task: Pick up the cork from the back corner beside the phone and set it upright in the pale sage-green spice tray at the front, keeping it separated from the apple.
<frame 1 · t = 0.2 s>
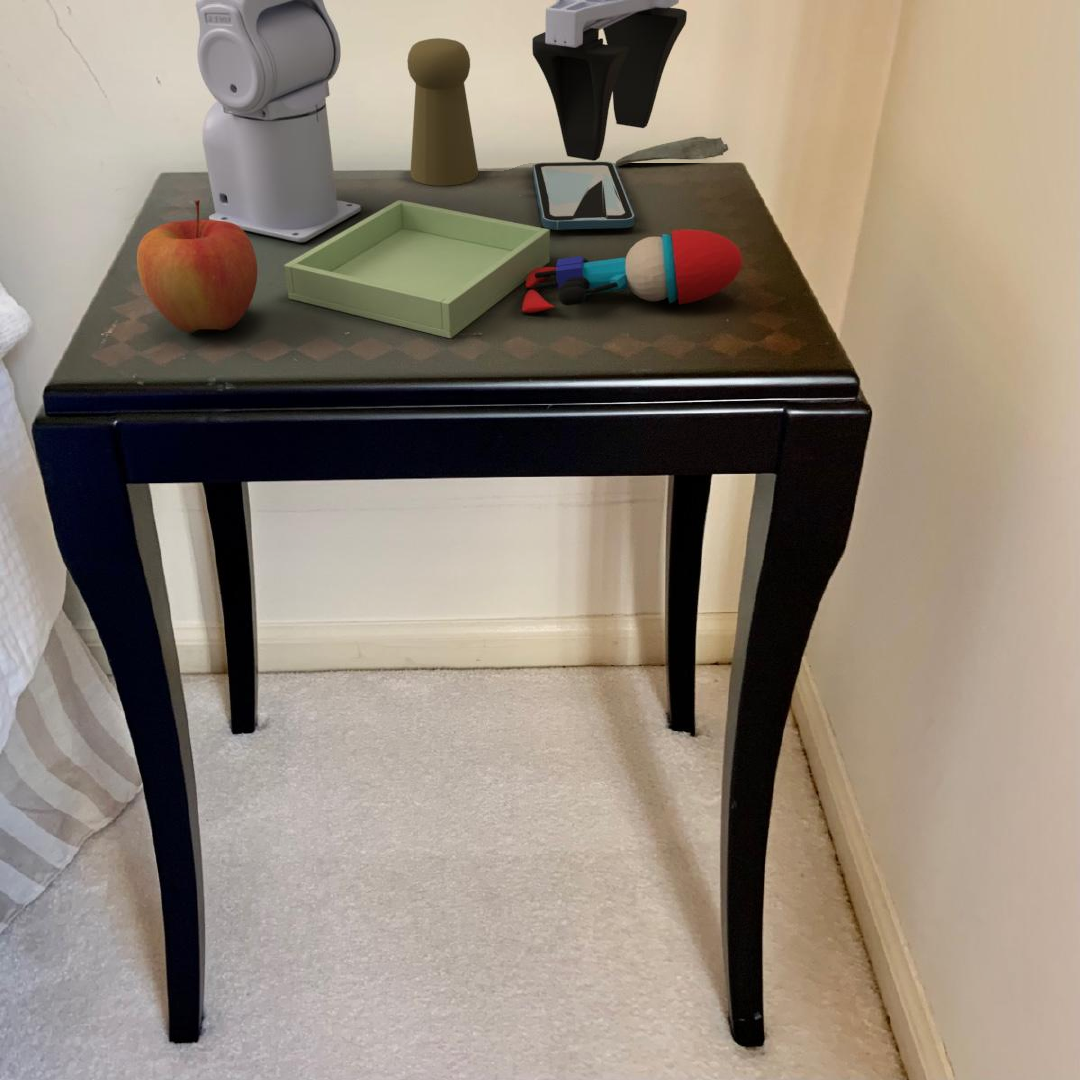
hand: (608, 140, 72), 10 cm above the table, tool pointing down, fingers open, 7 cm apart
spice tray: (423, 279, 79), on the table
toy figure: (630, 301, 76), on the table
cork: (444, 176, 97), on the table
stone: (681, 160, 98), point 1 cm above the table
apple: (210, 329, 73), on the table
smartphone: (580, 201, 91), on the table
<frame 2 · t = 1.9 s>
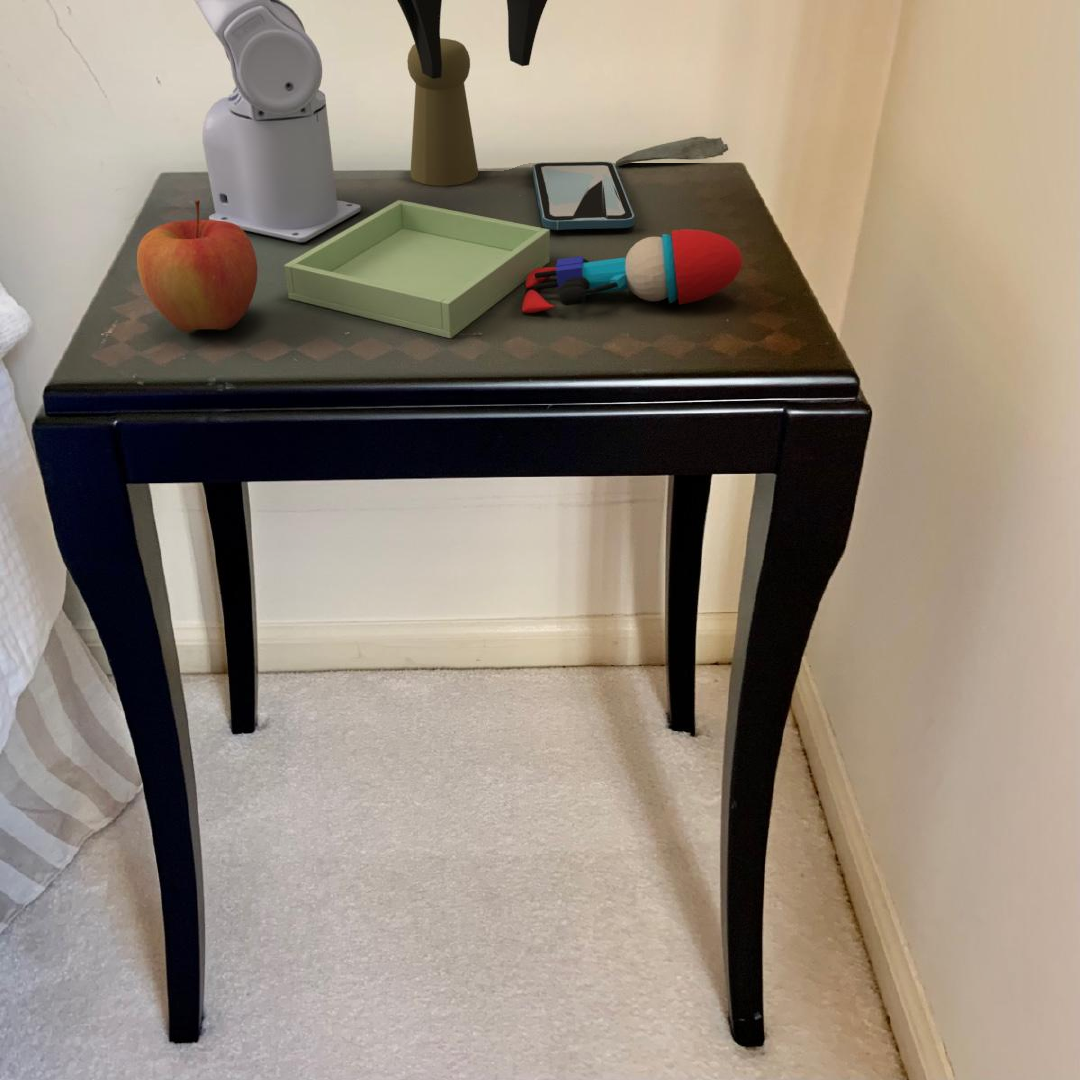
hand: (476, 69, 85), 10 cm above the table, tool pointing down, fingers open, 7 cm apart
nothing on the table moved.
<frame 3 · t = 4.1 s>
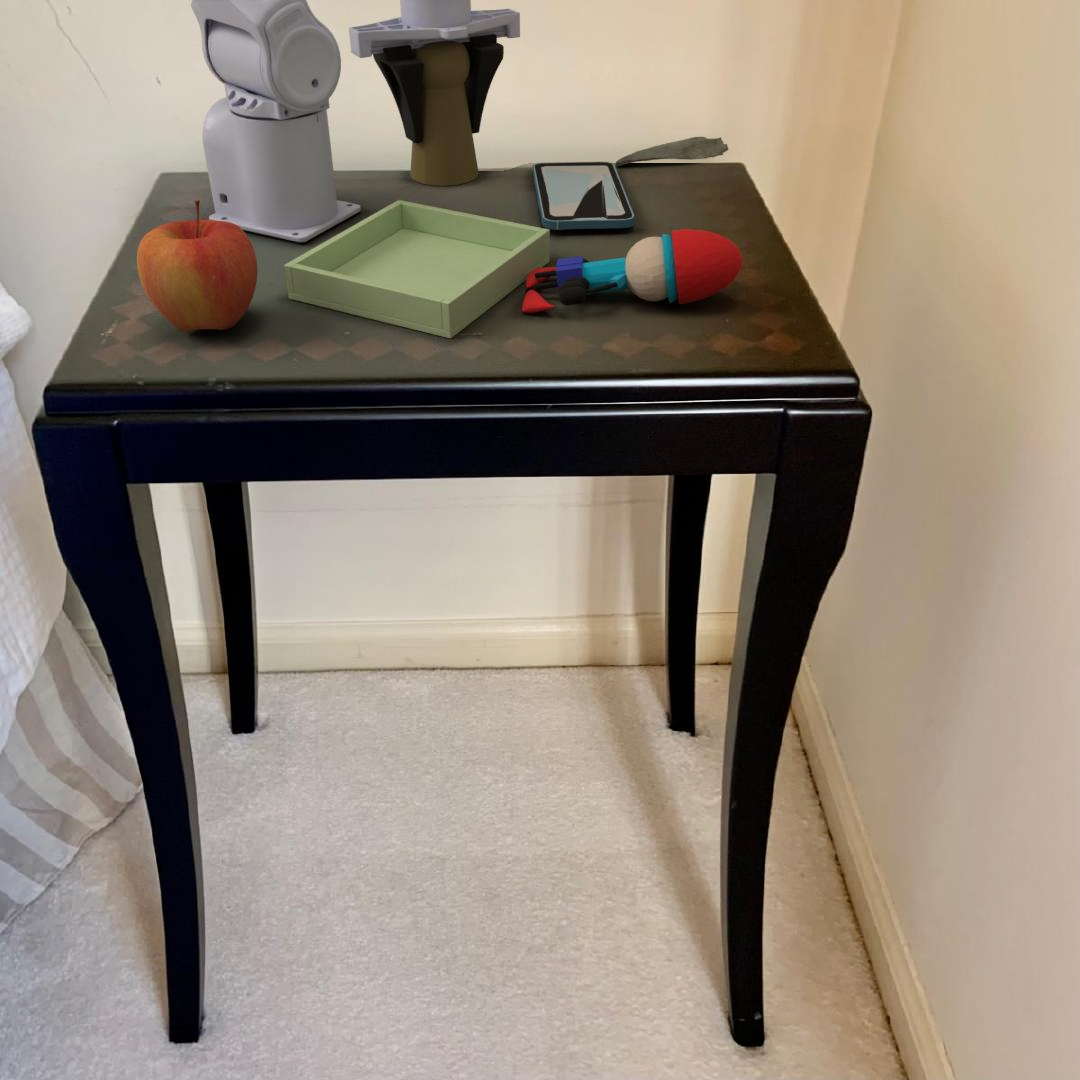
hand: (442, 135, 95), 3 cm above the table, tool pointing down, fingers closed on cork, 5 cm apart
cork: (444, 176, 97), on the table, touching gripper
everything else where it was.
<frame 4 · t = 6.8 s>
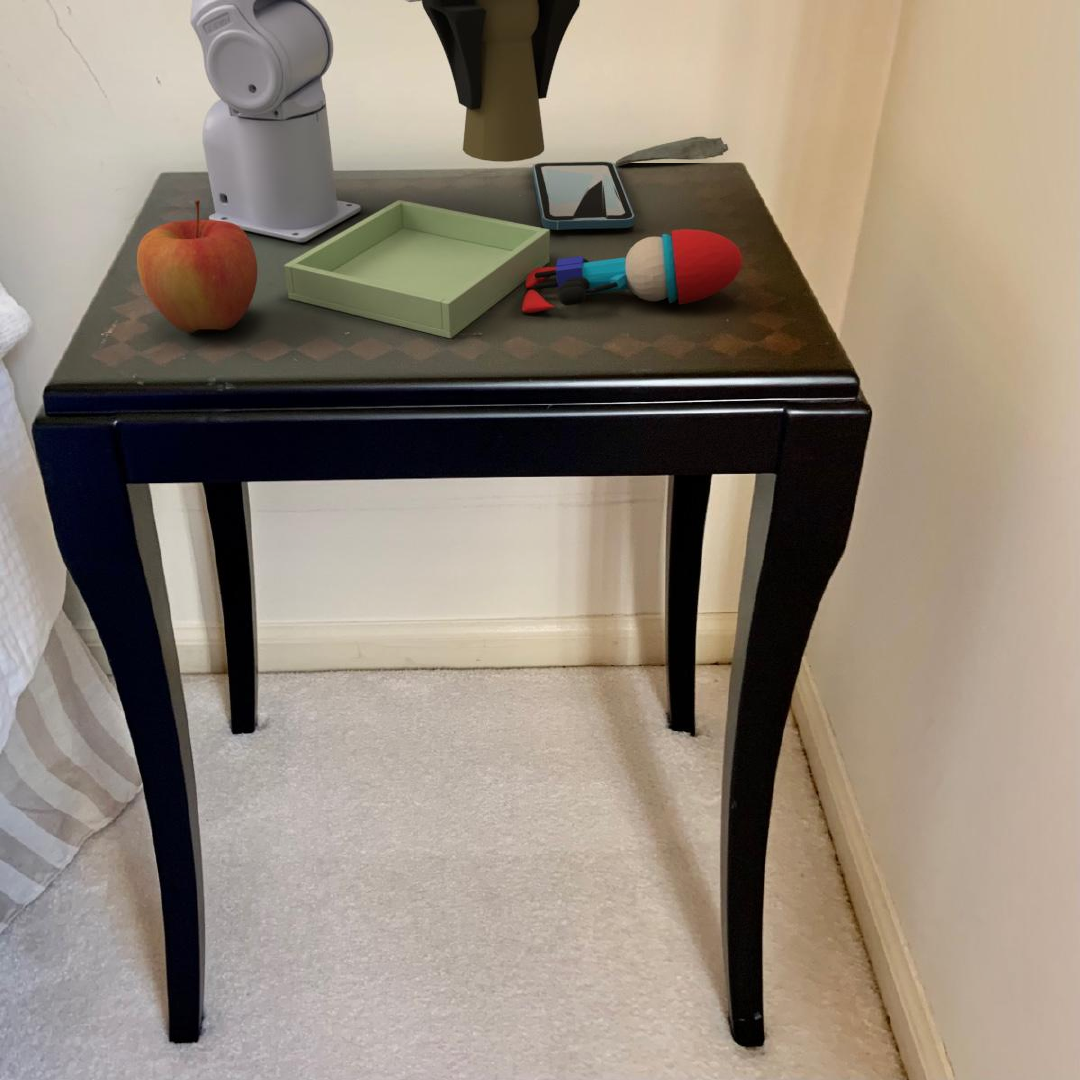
hand: (502, 100, 79), 10 cm above the table, tool pointing down, fingers closed on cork, 5 cm apart
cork: (503, 151, 81), point 7 cm above the table, touching gripper
everything else where it was.
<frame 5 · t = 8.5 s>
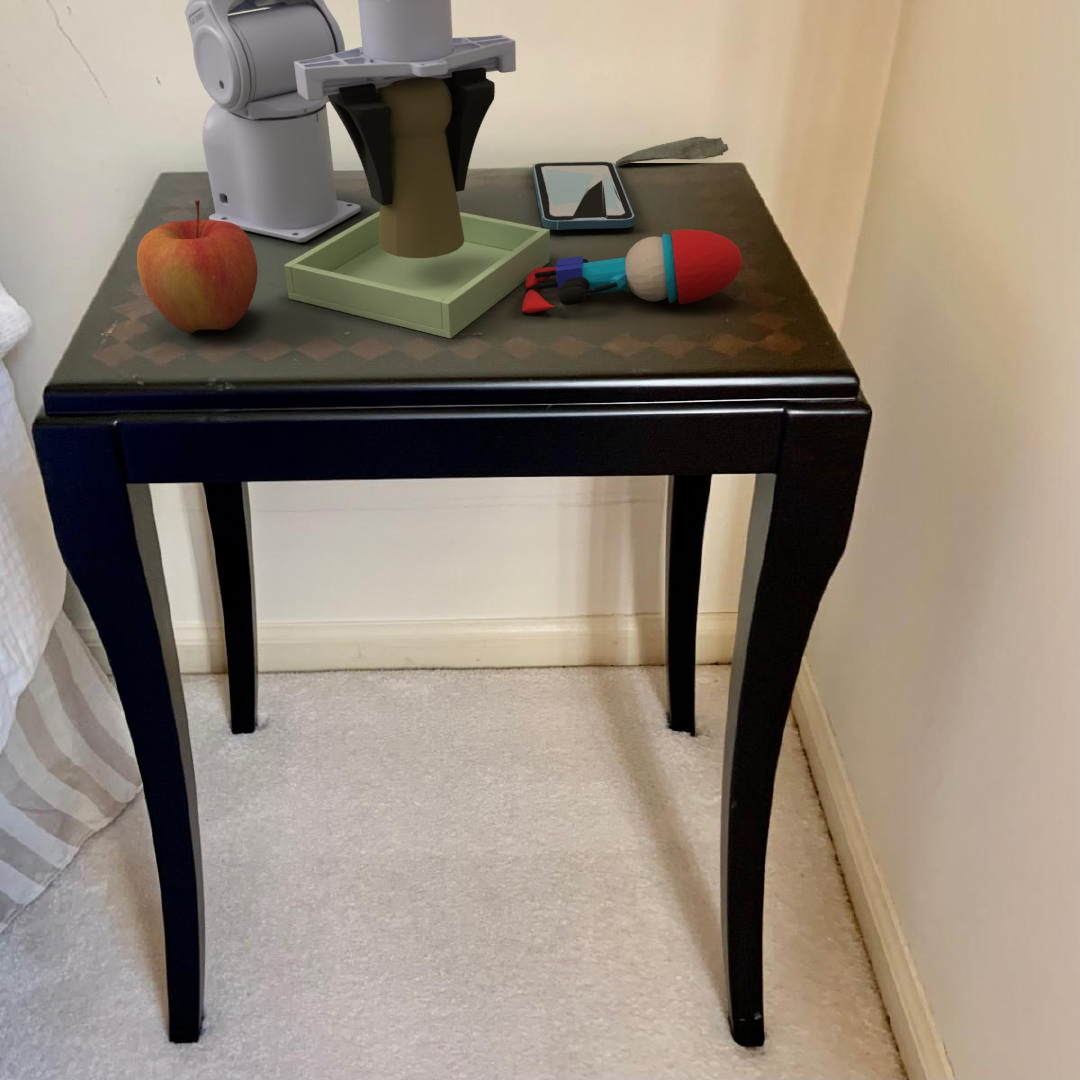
hand: (417, 193, 75), 6 cm above the table, tool pointing down, fingers closed on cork, 5 cm apart
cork: (421, 244, 77), point 3 cm above the table, touching gripper
everything else where it was.
when the fingers open (4 cm above the table, at t = 9.7 s): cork stays where it is, resting on spice tray.
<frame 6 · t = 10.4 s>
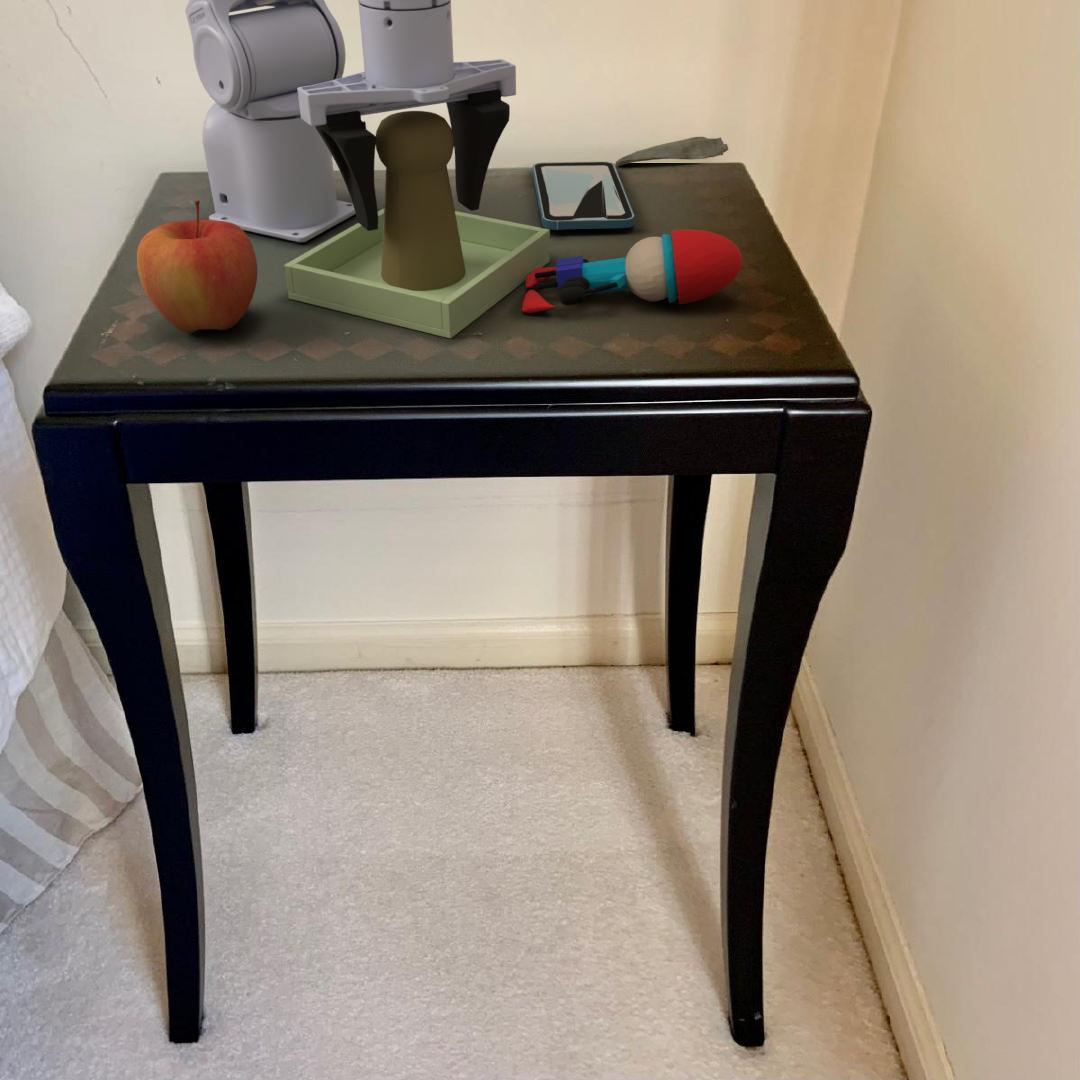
hand: (419, 215, 76), 5 cm above the table, tool pointing down, fingers open, 7 cm apart
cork: (423, 275, 79), resting on spice tray
everything else where it was.
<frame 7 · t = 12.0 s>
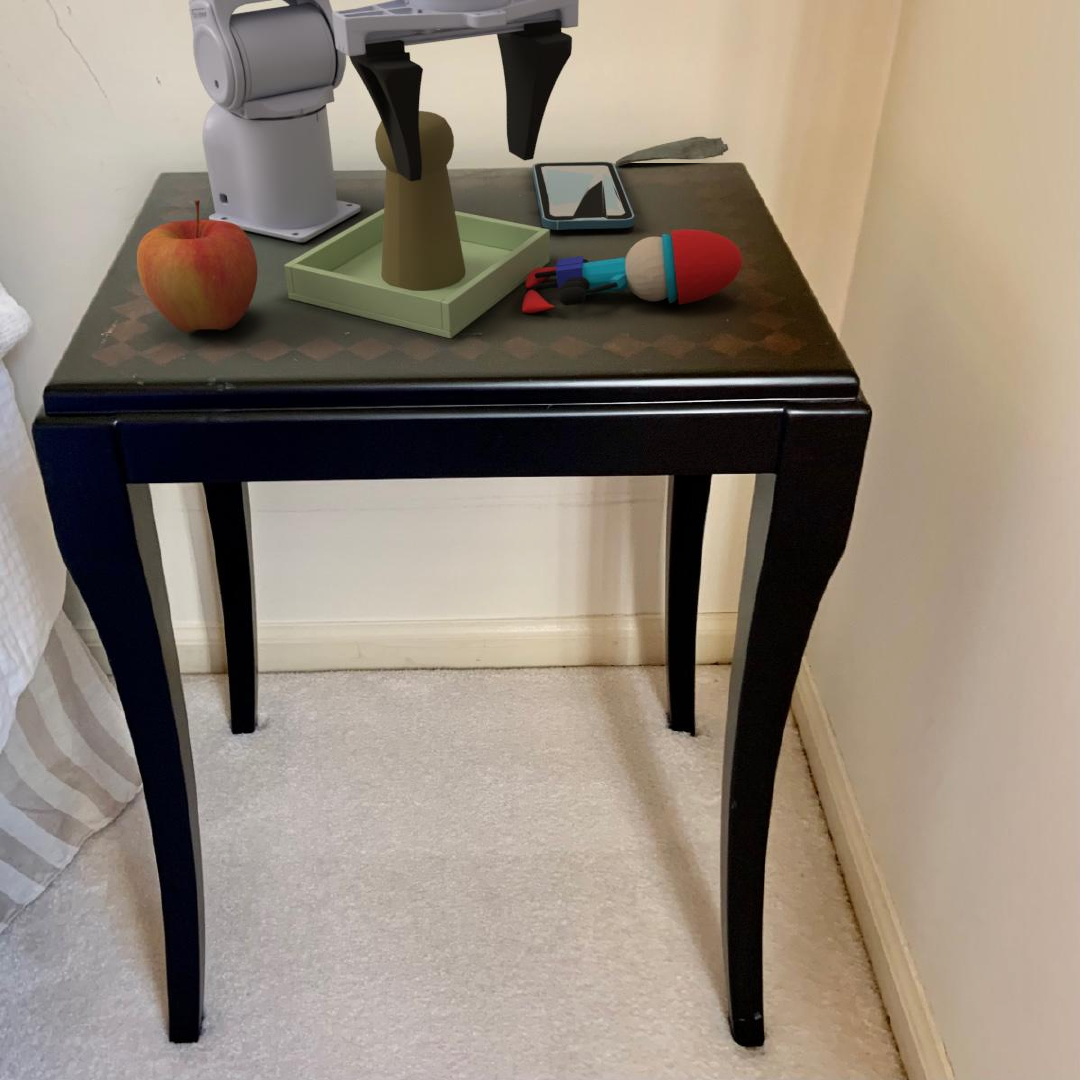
hand: (466, 165, 67), 10 cm above the table, tool pointing down, fingers open, 7 cm apart
nothing on the table moved.
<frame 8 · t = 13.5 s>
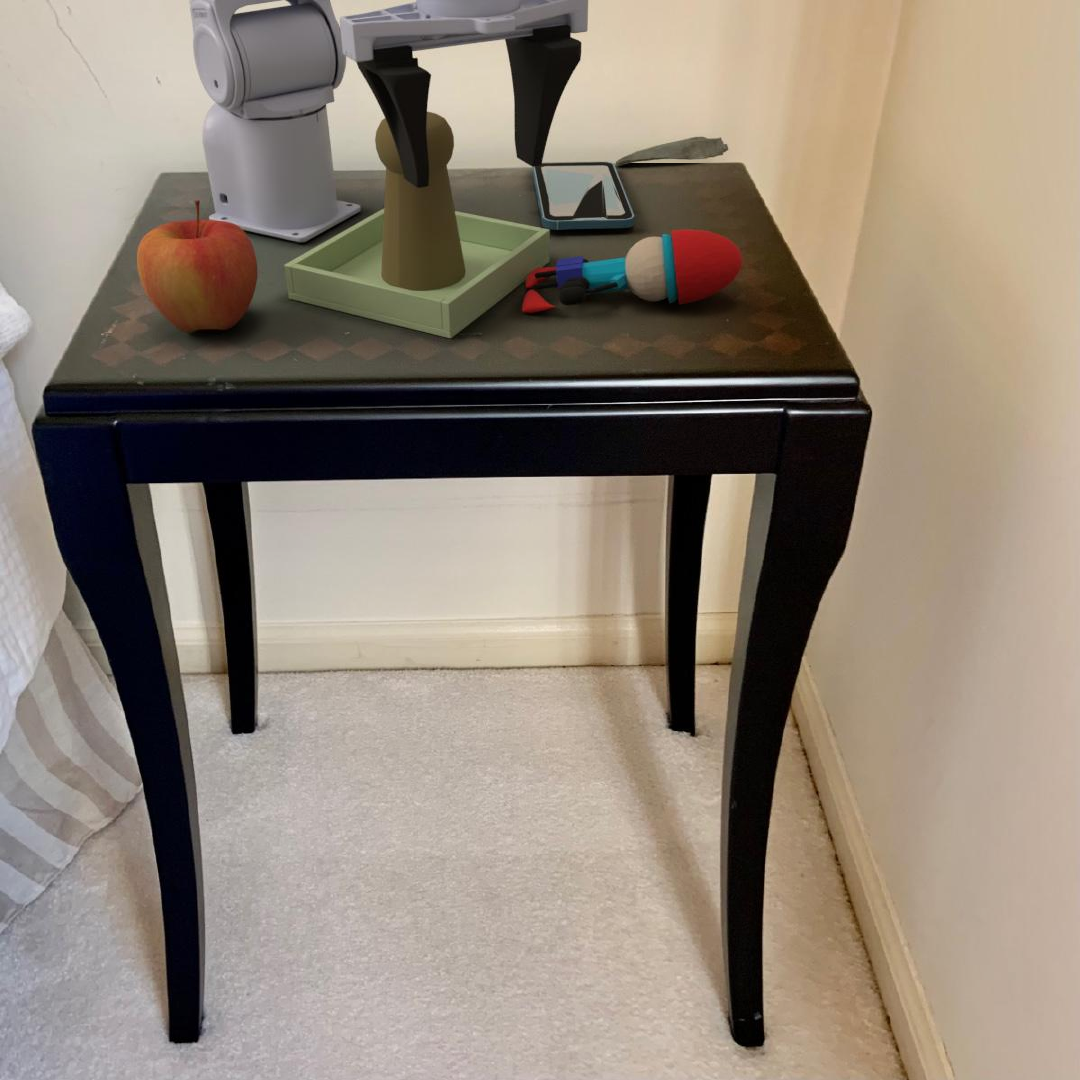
hand: (474, 171, 66), 10 cm above the table, tool pointing down, fingers open, 7 cm apart
nothing on the table moved.
at the end: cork inside the target area in the spice tray (0.0 cm from its centre), point 0.3 cm above the spice tray's base; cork tilted 0°; apple moved 0.2 cm from its start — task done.
